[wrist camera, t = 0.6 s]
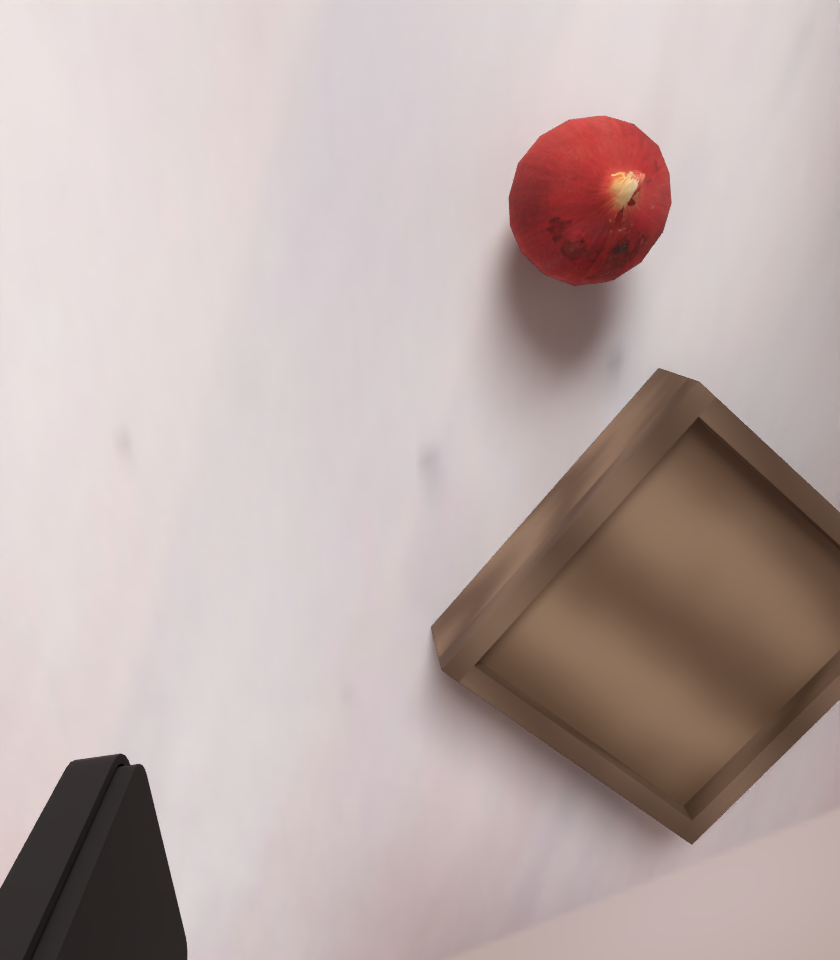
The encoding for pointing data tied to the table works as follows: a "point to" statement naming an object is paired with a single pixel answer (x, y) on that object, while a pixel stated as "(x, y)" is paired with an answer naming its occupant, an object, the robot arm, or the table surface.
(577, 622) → the walnut tray
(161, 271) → the table surface
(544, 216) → the onion
